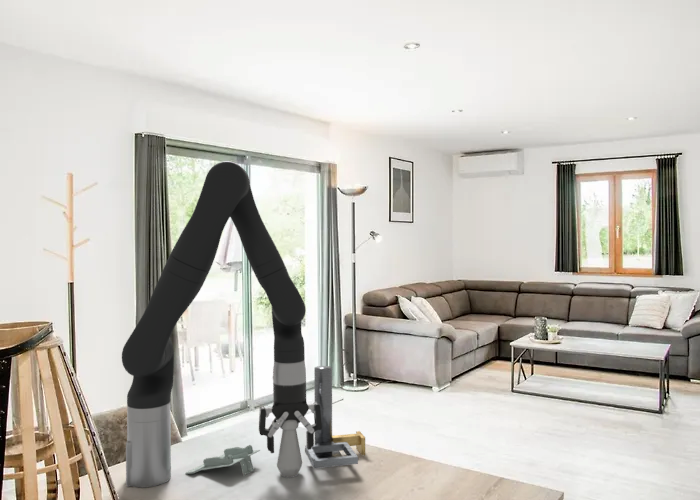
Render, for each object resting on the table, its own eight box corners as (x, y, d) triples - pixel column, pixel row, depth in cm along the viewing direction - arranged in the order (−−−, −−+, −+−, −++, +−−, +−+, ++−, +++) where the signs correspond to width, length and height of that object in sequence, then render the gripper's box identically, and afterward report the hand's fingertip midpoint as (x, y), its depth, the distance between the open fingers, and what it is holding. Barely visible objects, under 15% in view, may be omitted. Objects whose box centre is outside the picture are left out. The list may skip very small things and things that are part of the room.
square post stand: (313, 478, 130) (313, 381, 130) (300, 451, 147) (300, 365, 147) (378, 471, 134) (378, 377, 134) (358, 446, 151) (358, 362, 151)
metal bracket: (266, 439, 141) (225, 459, 127) (271, 463, 140) (231, 486, 127) (222, 446, 147) (179, 466, 134) (227, 469, 146) (184, 491, 133)
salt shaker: (293, 467, 137) (292, 412, 137) (307, 474, 133) (307, 418, 133) (272, 473, 133) (271, 417, 133) (286, 481, 129) (285, 423, 129)
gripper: (260, 386, 127) (261, 459, 127) (323, 381, 131) (324, 452, 131) (256, 378, 134) (258, 448, 135) (316, 374, 138) (317, 441, 138)
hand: (290, 450), depth 133 cm, fingers open, 8 cm apart
